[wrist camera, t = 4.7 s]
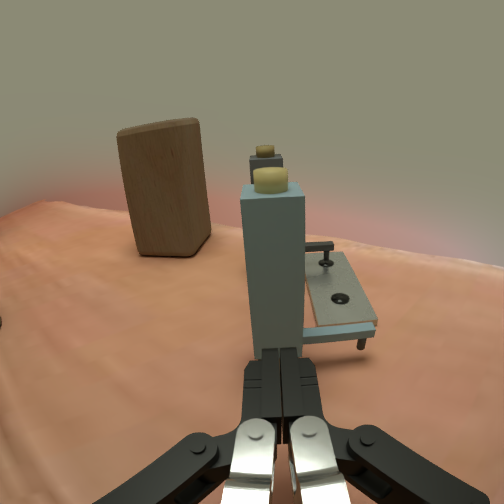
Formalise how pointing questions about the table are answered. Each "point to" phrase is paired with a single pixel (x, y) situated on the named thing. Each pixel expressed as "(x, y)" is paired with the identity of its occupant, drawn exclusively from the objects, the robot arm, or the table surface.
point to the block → (165, 186)
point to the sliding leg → (281, 266)
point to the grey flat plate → (336, 291)
